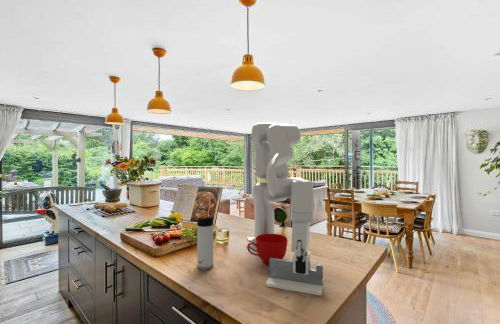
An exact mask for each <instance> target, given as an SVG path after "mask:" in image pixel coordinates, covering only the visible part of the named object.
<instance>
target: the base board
mask: <svg viewBox="0 0 500 324" xmlns="http://www.w3.org/2000/svg"><path fill="white" fill-rule="evenodd" d="M323 283H324V277H323ZM265 287H268V288H274V289H281V290H286V291H292V292H297V293H298V292H299V293H303V294H304V293H305V294H309V295H316V296H322V295H323V289H324V285H323V286H320V285H314V284H308V283H301V282H295V281H289V280H282V279H276V278H270V277H268V279H267V281H266V282H265Z"/></svg>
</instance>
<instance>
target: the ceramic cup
mask: <svg viewBox="0 0 500 324" xmlns="http://www.w3.org/2000/svg"><path fill="white" fill-rule="evenodd" d="M252 244H253V245H255V246H256V248H257V251H256V252H257V253H256V252H253V251H251V250H250V246H252ZM287 247H288V237H286V236H285V235H282V234H279V233H274V234H262V235H259V236H257V237H256V243H253V242H248V244H247V246H246V248H247V249H246V250H247V252H248V253H250V254H251V255H253V256H256V257H259V258H260V260H261V261H262V262H263V263H264V264H265V265H268V266H270V258H276V259H283V260H284V257H285V255H286V252H287Z"/></svg>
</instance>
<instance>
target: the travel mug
mask: <svg viewBox="0 0 500 324" xmlns="http://www.w3.org/2000/svg"><path fill="white" fill-rule="evenodd" d="M196 226H197V227H196V228H197V229H196V234H197V235H196V236H197V237H196V238H197V239H196V241H197V242H196V244H197V245H196V251H197V252H196V254H197V255H196V256H197V257H196V264H197V265H196V266H197V267H196V268H197V269H198V270H201V271H202V270H204V271H206V270H210V269H212V268H213V267H214V217H213V216H205V217H198V218H197V224H196Z"/></svg>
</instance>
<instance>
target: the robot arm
mask: <svg viewBox="0 0 500 324" xmlns="http://www.w3.org/2000/svg"><path fill="white" fill-rule="evenodd" d="M301 135H302V134H301V131H300V129H299V127H298V126H297V125H296V124H290V123H284V122H281V123H279V122H258V123H254V124H253V126H252V128H251V140H252V143H253V147H254V152H255V153H254V154H255V156H254V157H255V161H254V163H255V164H254V165H255V176H256V178H257V179H259V180H266V181H261V182H257V183H256V184H254V185H253V187H252V195H253V202H254V203H253V205H254V236H253V237H251V236H247V238H246V241H247V242H248V243H251V242H253V243H256V237H257V236H259V235H262V234H275V209H274V207H273V206H272V205H271V204H270V203H271V202H284V201H287V199H290V221H291V222H292V228H291V252H292V253H294V252H295V250H296V261H295V272H296V273H300V274H305V253H306V252H307V251H308V248H309V246H310V233H311V232H310V230H311V229H310V228H311V227H310V226H311V223H313V222H314V183H313V181H312V180H310V179H304V178H302V177H289V167H288V164H287V163H288V162H290V161H291V160H292V158H293V157H294V151H293V148H292V145H297V144H299V142H300V141H301ZM251 248H252V250H253V251H256V252H257V248H256V246H255V245H253V244H252V245H251ZM301 251H303V252H301ZM301 254H303V256H302V255H301Z"/></svg>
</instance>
